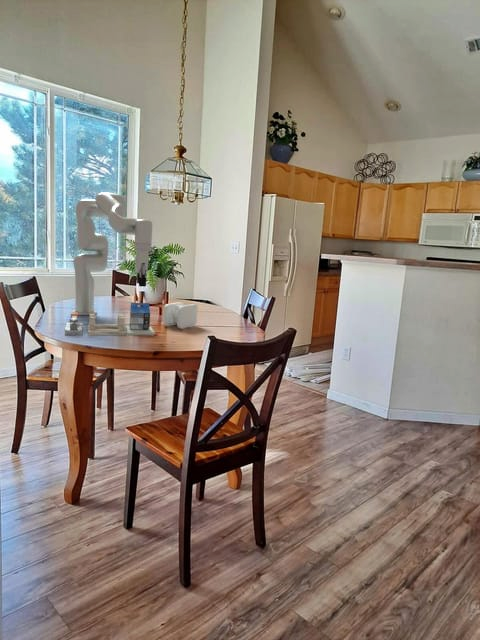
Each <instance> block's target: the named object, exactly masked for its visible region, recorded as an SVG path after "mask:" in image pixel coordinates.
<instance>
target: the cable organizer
mask: <svg viewBox="0 0 480 640" xmlns="http://www.w3.org/2000/svg"><path fill="white" fill-rule="evenodd" d="M162 318H163V319H162V323H163V325H164V326H167V327H172V326H174V325H176V326H177V328H178V329H180V330H186V328H193V327H195V326H196V325H197V321H198V320H197V319H198V305H197V304H194V303H193V304H192V303H191V304H186V305H185V303H184V302H183V301H182V302H181V301H180V302H173V303H172V302H171V303H167V304H164V306H163V317H162Z"/></svg>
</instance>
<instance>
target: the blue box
mask: <svg viewBox="0 0 480 640" xmlns="http://www.w3.org/2000/svg"><path fill="white" fill-rule="evenodd" d="M150 323H151V311H150V302H130V308H129V326H130V330H149V327H150V326H151V325H150Z"/></svg>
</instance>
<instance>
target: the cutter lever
mask: <svg viewBox="0 0 480 640" xmlns="http://www.w3.org/2000/svg"><path fill="white" fill-rule="evenodd" d="M79 316H80V315H79V313H73V312H72V311H71V313H70V318H71V319H69V323H73V324H75V323H79Z"/></svg>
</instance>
